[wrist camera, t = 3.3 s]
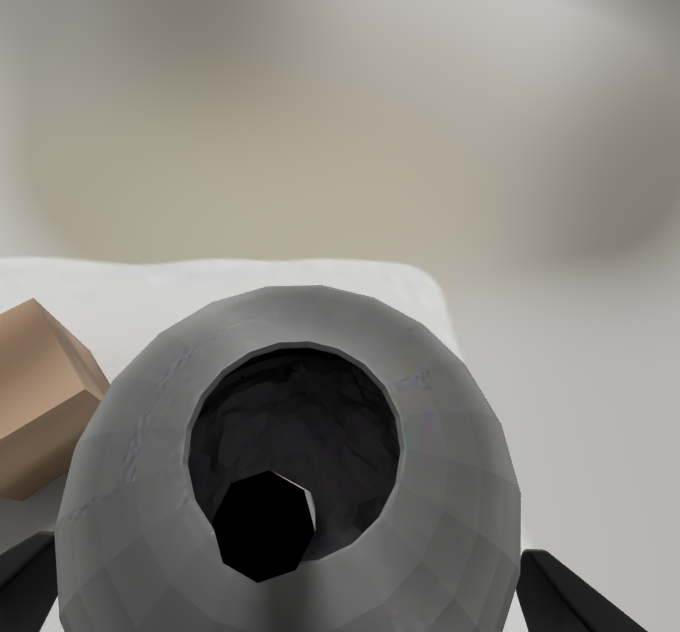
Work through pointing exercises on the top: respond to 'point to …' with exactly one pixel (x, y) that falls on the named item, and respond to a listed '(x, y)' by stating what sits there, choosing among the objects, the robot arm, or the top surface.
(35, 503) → the top surface
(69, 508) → the beverage cup
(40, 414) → the walnut block
